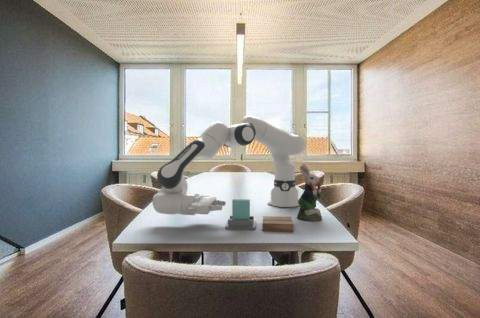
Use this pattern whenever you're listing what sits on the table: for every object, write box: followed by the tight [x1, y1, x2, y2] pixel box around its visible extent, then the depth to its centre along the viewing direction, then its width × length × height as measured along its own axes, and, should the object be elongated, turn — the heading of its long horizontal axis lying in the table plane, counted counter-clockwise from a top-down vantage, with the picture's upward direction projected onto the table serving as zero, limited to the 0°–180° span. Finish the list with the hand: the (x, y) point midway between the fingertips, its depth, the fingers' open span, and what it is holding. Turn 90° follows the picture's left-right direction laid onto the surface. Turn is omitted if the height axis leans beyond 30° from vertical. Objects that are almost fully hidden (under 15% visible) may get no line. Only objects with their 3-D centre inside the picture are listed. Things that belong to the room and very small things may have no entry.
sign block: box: [231, 198, 251, 220], centre depth 130 cm, size 3×7×10 cm, turn 84°
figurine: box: [296, 163, 323, 222], centre depth 143 cm, size 11×13×25 cm
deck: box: [261, 215, 294, 233], centre depth 129 cm, size 12×12×3 cm
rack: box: [224, 214, 257, 231], centre depth 130 cm, size 10×12×4 cm
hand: (223, 205), depth 130 cm, fingers open, 8 cm apart
